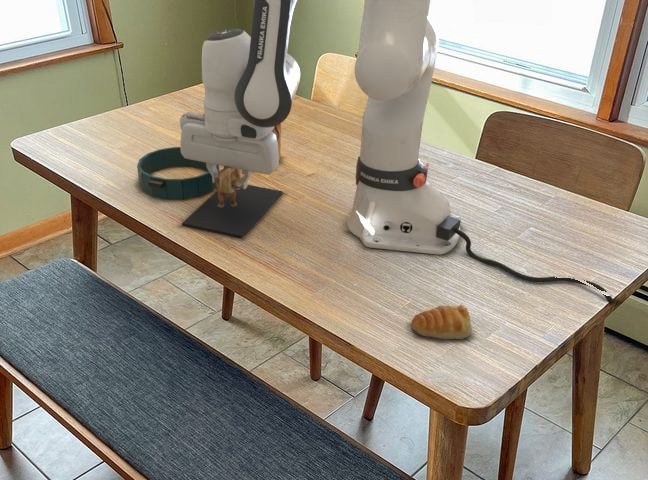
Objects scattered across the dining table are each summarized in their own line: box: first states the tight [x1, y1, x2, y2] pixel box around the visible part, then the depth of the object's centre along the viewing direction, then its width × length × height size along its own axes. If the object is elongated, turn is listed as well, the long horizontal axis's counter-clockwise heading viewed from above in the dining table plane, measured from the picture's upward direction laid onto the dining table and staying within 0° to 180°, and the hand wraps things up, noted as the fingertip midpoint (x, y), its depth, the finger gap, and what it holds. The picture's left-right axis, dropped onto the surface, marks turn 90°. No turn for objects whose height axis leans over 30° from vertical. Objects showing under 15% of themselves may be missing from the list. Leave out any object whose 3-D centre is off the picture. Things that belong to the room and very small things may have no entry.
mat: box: [181, 184, 283, 239], centre depth 151 cm, size 13×21×1 cm, turn 160°
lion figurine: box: [215, 166, 243, 208], centre depth 147 cm, size 15×5×9 cm, turn 6°
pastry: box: [410, 304, 472, 340], centre depth 119 cm, size 9×7×4 cm
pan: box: [136, 146, 220, 201], centre depth 160 cm, size 17×20×4 cm
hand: (230, 185), depth 149 cm, fingers closed on lion figurine, 4 cm apart
